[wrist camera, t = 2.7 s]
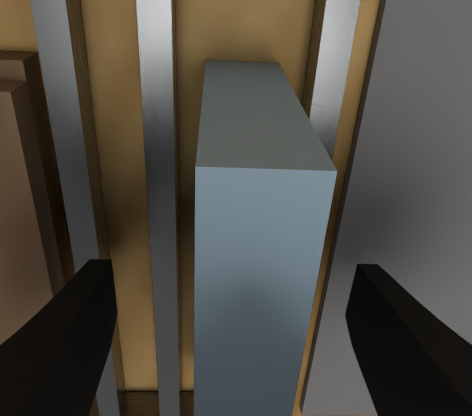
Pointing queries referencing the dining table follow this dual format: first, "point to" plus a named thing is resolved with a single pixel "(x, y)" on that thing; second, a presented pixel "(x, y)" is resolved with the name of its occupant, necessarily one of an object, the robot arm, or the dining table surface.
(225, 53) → the dining table surface
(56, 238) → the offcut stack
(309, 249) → the blue-grey rectangular block
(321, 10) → the metal rack
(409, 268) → the charcoal mat
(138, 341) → the dining table surface
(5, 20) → the dining table surface
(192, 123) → the dining table surface
